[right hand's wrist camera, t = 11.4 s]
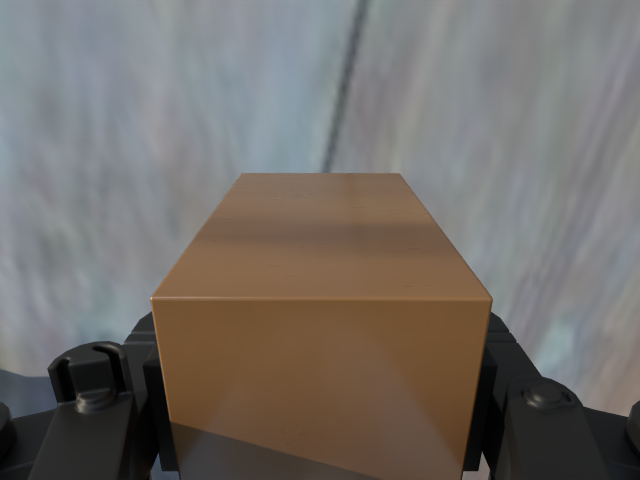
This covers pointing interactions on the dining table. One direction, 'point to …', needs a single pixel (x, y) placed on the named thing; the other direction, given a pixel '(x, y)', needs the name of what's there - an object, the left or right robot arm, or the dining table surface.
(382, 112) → the dining table surface
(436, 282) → the bar
